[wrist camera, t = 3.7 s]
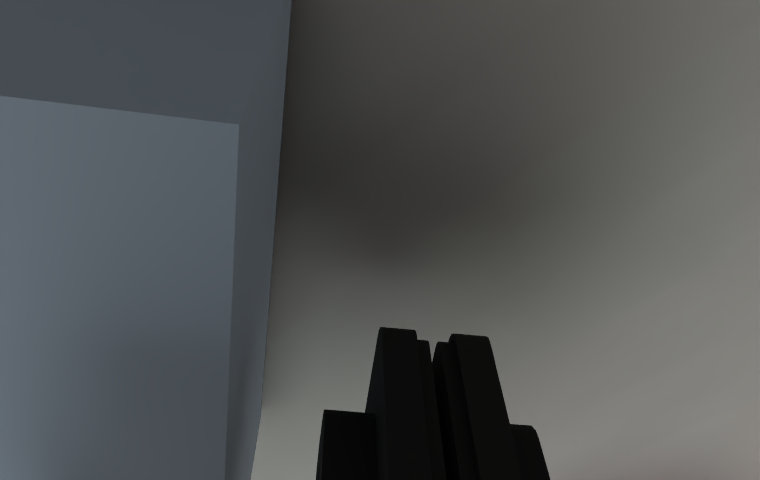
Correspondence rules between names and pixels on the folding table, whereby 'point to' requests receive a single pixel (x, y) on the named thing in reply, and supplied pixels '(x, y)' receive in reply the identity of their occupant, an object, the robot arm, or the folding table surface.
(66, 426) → the blue end cap
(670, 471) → the folding table surface
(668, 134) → the folding table surface
